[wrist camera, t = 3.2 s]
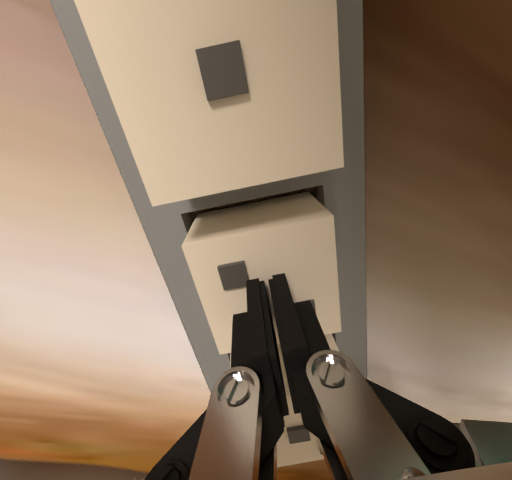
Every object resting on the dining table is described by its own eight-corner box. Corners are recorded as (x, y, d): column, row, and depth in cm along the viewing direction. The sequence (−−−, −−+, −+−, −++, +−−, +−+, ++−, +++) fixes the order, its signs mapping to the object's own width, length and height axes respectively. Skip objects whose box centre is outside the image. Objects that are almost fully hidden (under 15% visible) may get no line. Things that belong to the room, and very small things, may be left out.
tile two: (197, 214, 13) (180, 248, 10) (307, 191, 13) (335, 217, 9) (224, 302, 16) (219, 358, 12) (317, 284, 16) (343, 334, 12)
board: (224, 403, 20) (223, 423, 19) (61, -18, 10) (31, -43, 8) (358, 378, 20) (367, 396, 19) (343, -84, 9) (361, -120, 8)
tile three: (231, 341, 15) (228, 410, 12) (326, 322, 15) (355, 387, 11) (250, 401, 18) (253, 476, 14) (332, 386, 18) (358, 457, 14)
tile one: (127, 15, 9) (43, -70, 5) (292, -22, 9) (334, -139, 5) (180, 181, 11) (150, 208, 8) (310, 154, 11) (346, 168, 7)
